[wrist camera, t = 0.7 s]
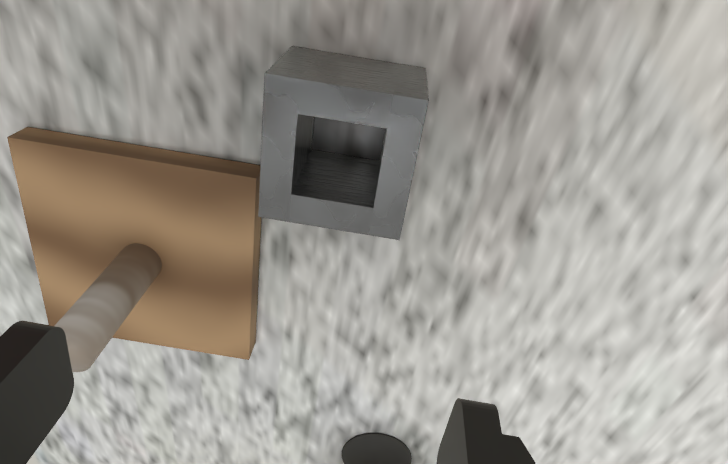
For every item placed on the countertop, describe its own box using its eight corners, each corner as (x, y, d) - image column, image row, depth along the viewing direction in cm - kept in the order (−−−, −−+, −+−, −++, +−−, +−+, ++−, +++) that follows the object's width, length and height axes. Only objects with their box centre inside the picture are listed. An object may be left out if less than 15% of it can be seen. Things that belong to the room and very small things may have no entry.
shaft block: (27, 126, 26) (-123, 204, 19) (263, 165, 26) (206, 258, 19) (64, 311, 32) (-39, 424, 25) (255, 342, 32) (209, 464, 25)
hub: (291, 45, 23) (264, 73, 19) (425, 68, 23) (428, 100, 19) (283, 169, 26) (258, 216, 22) (401, 188, 26) (399, 240, 22)
